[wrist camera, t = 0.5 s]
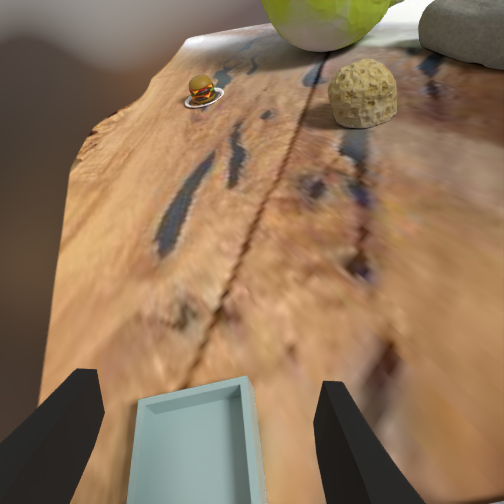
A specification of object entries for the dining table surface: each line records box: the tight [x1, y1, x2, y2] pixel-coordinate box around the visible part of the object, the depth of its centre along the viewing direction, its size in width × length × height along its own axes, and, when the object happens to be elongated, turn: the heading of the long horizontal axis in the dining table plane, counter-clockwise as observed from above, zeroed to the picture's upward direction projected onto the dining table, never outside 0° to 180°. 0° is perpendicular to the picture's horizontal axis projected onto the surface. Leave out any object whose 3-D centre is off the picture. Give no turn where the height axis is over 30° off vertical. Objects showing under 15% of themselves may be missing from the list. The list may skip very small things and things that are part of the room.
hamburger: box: [185, 75, 224, 108], centre depth 77 cm, size 12×12×6 cm
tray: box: [126, 376, 268, 504], centre depth 26 cm, size 10×9×2 cm
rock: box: [328, 59, 397, 128], centre depth 55 cm, size 10×11×10 cm
